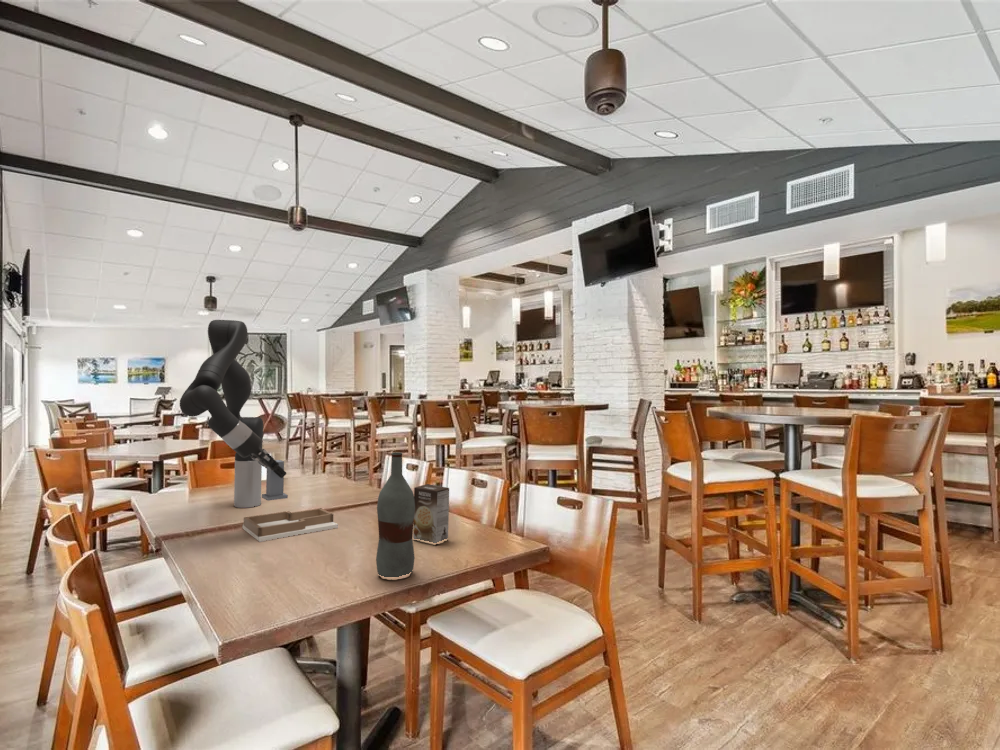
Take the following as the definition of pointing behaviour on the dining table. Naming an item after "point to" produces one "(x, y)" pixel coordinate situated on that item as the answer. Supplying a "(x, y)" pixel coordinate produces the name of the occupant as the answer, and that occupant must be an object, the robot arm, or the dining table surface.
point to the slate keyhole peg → (274, 484)
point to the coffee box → (431, 513)
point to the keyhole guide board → (288, 523)
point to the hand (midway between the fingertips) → (281, 474)
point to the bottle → (395, 524)
